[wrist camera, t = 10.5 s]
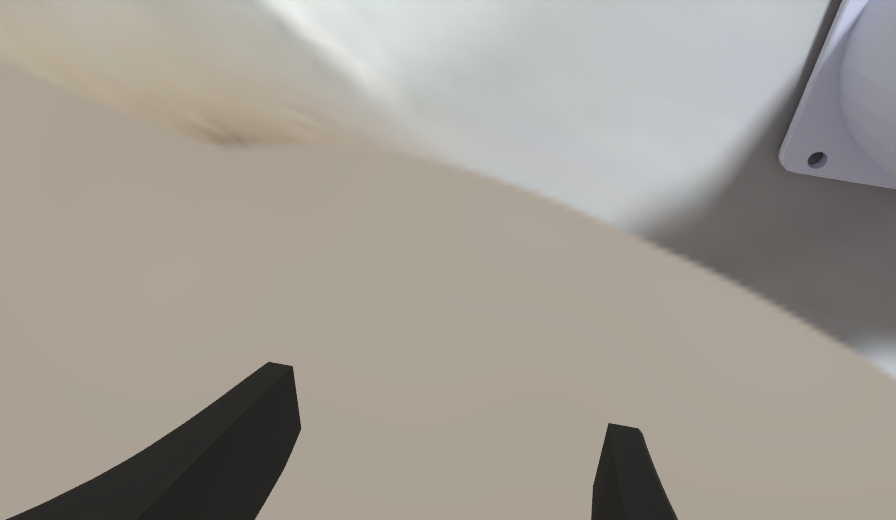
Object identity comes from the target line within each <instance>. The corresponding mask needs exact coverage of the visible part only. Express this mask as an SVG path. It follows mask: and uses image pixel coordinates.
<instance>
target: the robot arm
mask: <svg viewBox="0 0 896 520" xmlns="http://www.w3.org/2000/svg"><path fill="white" fill-rule="evenodd" d="M816 152H823V158H822V159H821V160H820V161H819V162H817V163H815V164H808V158H809V157H810V156H811V155H812V154H814V153H816ZM778 158H779V161H780V163H781V165H782V166H783V167H784V168H785V169H786V170H787V171H790V172H793V173H799V174H805V175H812V176H818V177H824V178H830V179H836V180H842V181H848V182H854V183H860V184H866V185H873V186H879V187H885V188H891V189H896V0H842V2H841V4H840V7H839V9H838V12H837V14H836V16H835V19H834V21H833V24H832V26H831V28H830V31H829V33H828V36H827V38H826V40H825V43H824V45H823V48H822V50H821V52H820V55H819V57H818V60H817V62H816V64H815V67H814V69H813V71H812V74H811V76H810V79H809V81H808V83H807V86H806V88H805V91H804V93H803V95H802V98H801V100H800V103H799V105H798V107H797V110H796V112H795V115H794V117H793V119H792V122H791V124H790V127H789V129H788V131H787V134H786V136H785V139H784V141H783V143H782V146H781V148H780V151H779V155H778ZM300 430H301V424H300V416H299V409H298V401H297V394H296V387H295V380H294V372H293V366H289V365H283V364H277V363H272V362H268V363H266V364H265V365H264V366H262V367H261V368H259V369H258V370H257V371H255V372H254V373H253V374H251V375H250V376H249V377H247V378H246V379H244V380H243V381H242V382H240V383H239V384H238V385H236V386H235V387H234V388H232V389H231V390H230V391H228V392H227V393H226V394H224V395H223V396H222V397H220V398H219V399H218V400H216V401H215V402H213V403H212V404H211V405H209V406H208V407H207V408H205V409H204V410H202V411H201V412H200V413H198V414H197V415H195V416H194V417H193V418H191V419H190V420H188V421H187V422H185V423H184V424H182V425H181V426H179V427H178V428H176V429H175V430H173V431H172V432H170V433H169V434H167V435H166V436H164V437H163V438H161V439H160V440H158V441H157V442H155V443H154V444H152V445H151V446H149V447H147V448H146V449H144V450H143V451H141V452H139V453H138V454H136V455H134V456H133V457H131V458H129V459H128V460H126V461H124V462H122V463H121V464H119V465H117V466H115V467H113V468H112V469H110V470H108V471H106V472H105V473H103V474H101V475H99V476H97V477H95V478H93V479H92V480H90V481H88V482H86V483H84V484H82V485H79V486H78V487H75V488H74V489H71V490H69V491H67V492H66V493H63V494H61V495H59V496H57V497H55V498H54V499H51V500H49V501H47V502H45V503H43V504H41V505H38V506H37V507H34V508H32V509H29V510H27V511H25V512H23V513H20V514H18V515H16V516H14V517H11V518H9V519H6V520H255V518H256V516H257V515H258V513H259V511H260V510H261V508H262V506H263V505H264V503H265V501H266V499H267V498H268V496H269V494H270V492H271V491H272V489H273V487H274V485H275V484H276V482H277V480H278V479H279V477H280V475H281V473H282V471H283V470H284V468H285V466H286V463H287V461H288V459H289V457H290V454H291V452H292V450H293V447H294V445H295V443H296V440H297V438H298V435H299V433H300ZM591 520H678V519H677V517H676V514H675V512H674V510H673V508H672V506H671V504H670V502H669V500H668V498H667V495H666V493H665V491H664V489H663V486H662V484H661V482H660V479H659V477H658V475H657V472H656V470H655V467H654V465H653V462H652V460H651V457H650V455H649V451H648V449H647V446H646V443H645V440H644V437H643V434H642V433H641V431H640V430H639V429H638V428H632V427H627V426H621V425H616V424H610V423H609V424H608V428H607V432H606V436H605V440H604V444H603V448H602V452H601V456H600V460H599V465H598V469H597V473H596V477H595V481H594V485H593V499H592V518H591Z"/></svg>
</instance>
